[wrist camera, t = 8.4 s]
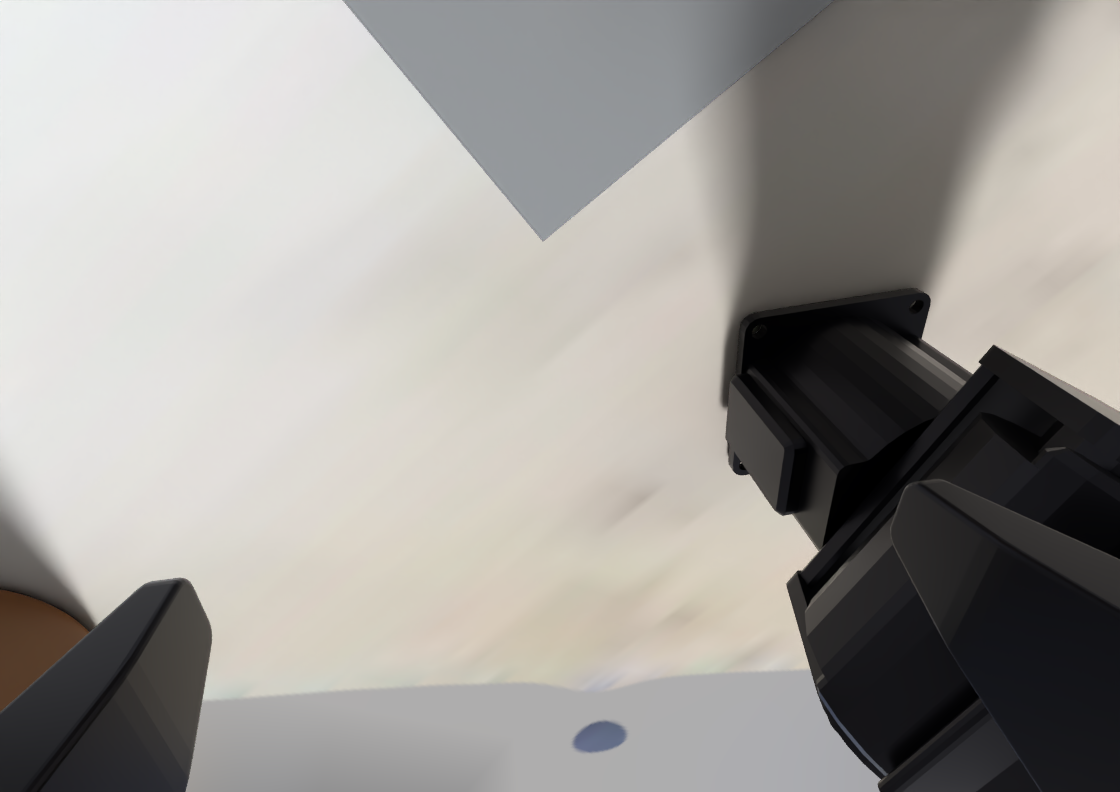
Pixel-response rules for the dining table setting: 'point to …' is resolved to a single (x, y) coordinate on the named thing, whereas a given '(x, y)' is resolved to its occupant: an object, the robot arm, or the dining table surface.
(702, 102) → the mat
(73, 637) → the mug
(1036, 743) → the robot arm
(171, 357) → the dining table surface
